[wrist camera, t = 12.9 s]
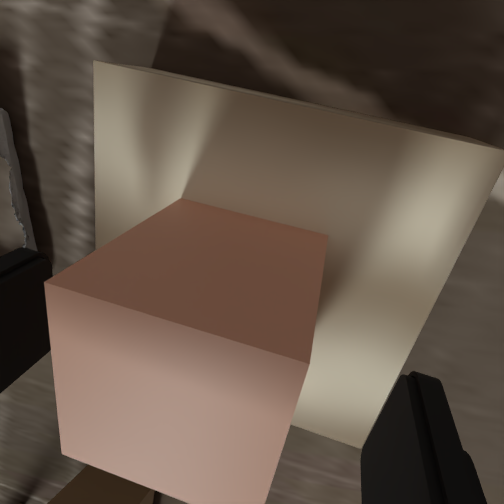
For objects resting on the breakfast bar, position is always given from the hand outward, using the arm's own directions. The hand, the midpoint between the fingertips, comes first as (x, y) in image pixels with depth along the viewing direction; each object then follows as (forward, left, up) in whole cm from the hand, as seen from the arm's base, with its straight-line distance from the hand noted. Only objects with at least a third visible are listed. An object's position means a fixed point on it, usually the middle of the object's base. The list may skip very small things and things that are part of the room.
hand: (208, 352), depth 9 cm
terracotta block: (0, 0, -4) cm, 4 cm away
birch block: (0, 0, -8) cm, 8 cm away
